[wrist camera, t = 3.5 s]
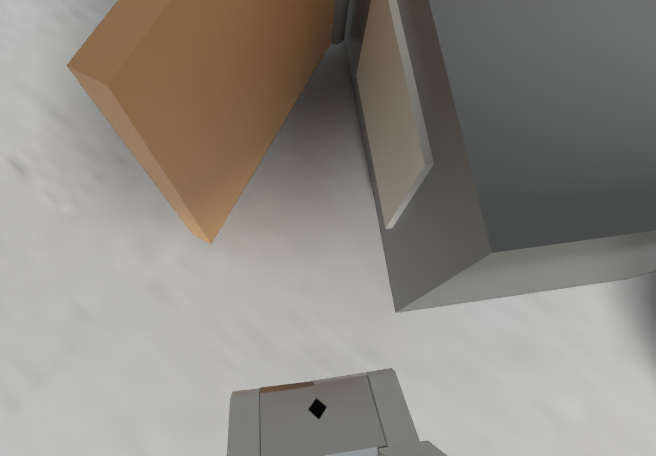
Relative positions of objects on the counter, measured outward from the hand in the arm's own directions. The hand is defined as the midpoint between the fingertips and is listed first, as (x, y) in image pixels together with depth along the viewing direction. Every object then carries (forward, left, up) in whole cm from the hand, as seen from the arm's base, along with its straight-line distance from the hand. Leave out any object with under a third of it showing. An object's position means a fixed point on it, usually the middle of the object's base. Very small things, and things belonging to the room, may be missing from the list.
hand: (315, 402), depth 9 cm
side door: (0, +13, -12) cm, 18 cm away
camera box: (+11, +11, -13) cm, 20 cm away
